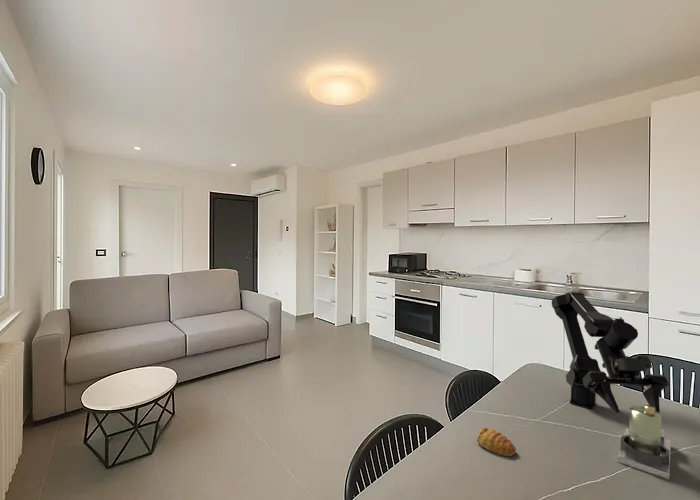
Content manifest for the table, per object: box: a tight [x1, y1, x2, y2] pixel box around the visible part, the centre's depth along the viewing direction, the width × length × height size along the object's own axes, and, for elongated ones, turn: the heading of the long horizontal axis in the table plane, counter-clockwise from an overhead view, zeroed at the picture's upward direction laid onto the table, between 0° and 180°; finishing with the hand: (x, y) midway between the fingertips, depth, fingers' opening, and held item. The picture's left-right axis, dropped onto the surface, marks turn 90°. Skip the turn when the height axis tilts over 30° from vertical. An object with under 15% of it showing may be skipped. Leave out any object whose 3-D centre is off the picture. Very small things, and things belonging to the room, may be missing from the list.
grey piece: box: [617, 427, 672, 481], centre depth 89 cm, size 9×18×4 cm, turn 136°
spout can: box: [628, 404, 663, 456], centre depth 86 cm, size 6×6×13 cm
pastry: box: [476, 426, 517, 457], centre depth 92 cm, size 9×7×4 cm
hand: (637, 414), depth 89 cm, fingers open, 9 cm apart
